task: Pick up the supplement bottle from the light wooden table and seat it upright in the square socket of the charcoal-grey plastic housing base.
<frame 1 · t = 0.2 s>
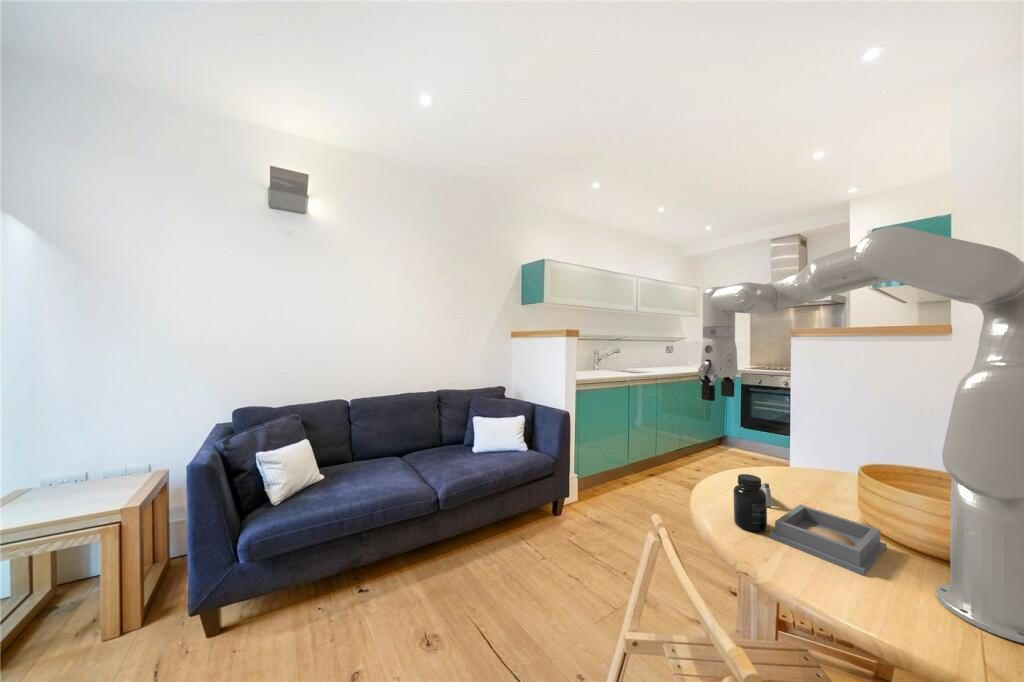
hand: (718, 398, 96), 30 cm above the table, tool pointing down, fingers open, 9 cm apart
housing: (826, 542, 81), on the table
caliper: (755, 493, 108), on the table
supplement bottle: (750, 526, 89), on the table
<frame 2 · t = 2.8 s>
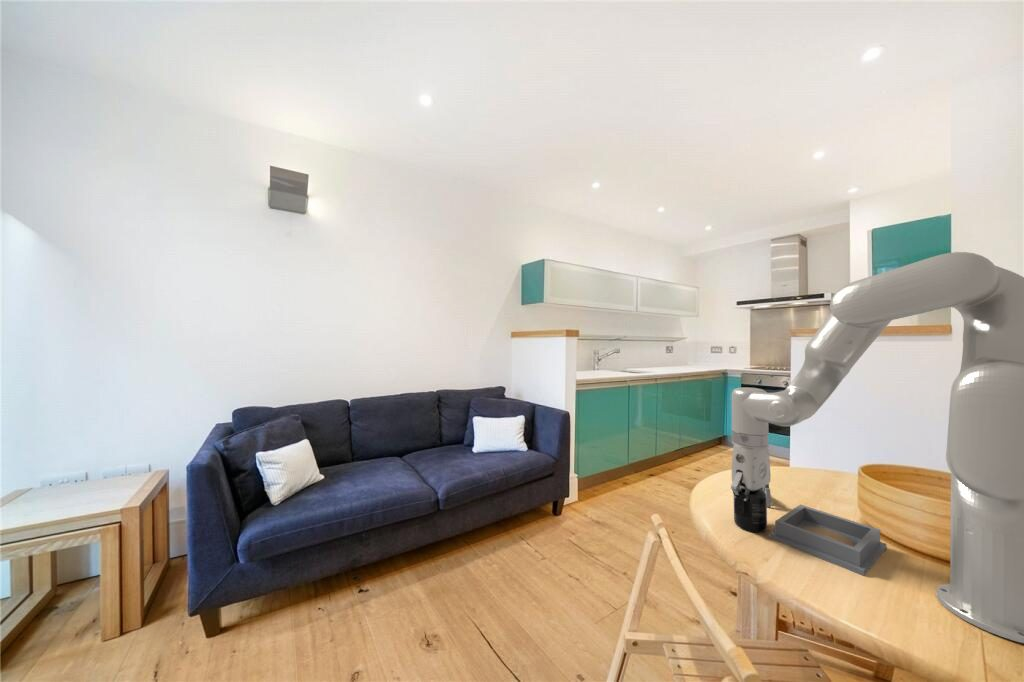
hand: (749, 510, 89), 4 cm above the table, tool pointing down, fingers closed on supplement bottle, 6 cm apart
supplement bottle: (750, 526, 89), on the table, touching gripper
everything else where it was.
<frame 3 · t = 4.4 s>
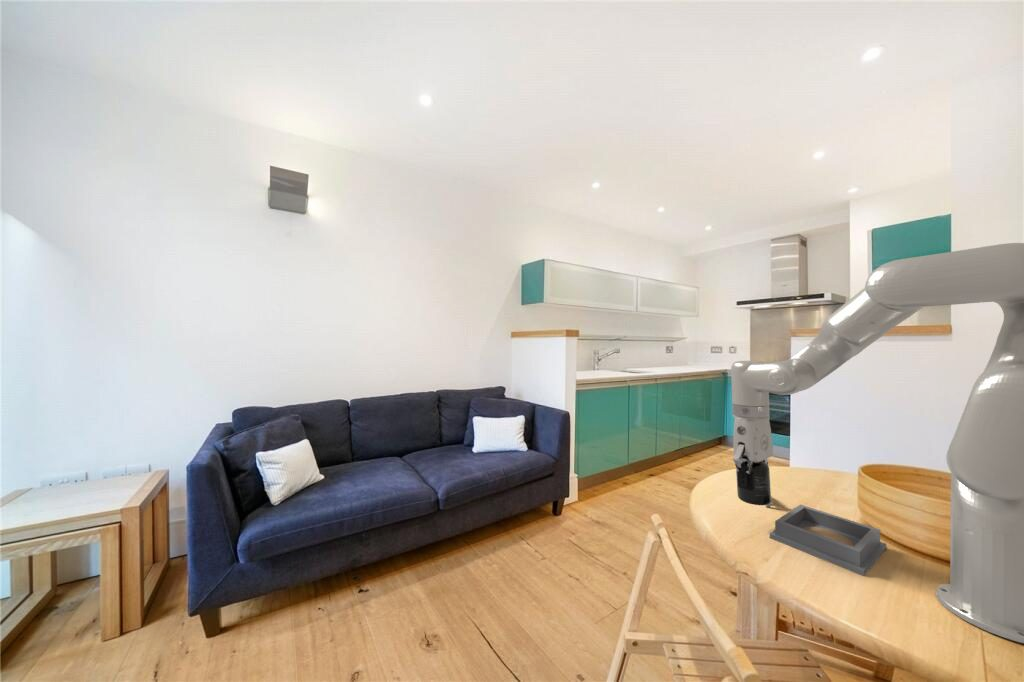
hand: (753, 484, 88), 10 cm above the table, tool pointing down, fingers closed on supplement bottle, 6 cm apart
supplement bottle: (753, 500, 88), point 6 cm above the table, touching gripper
everything else where it was.
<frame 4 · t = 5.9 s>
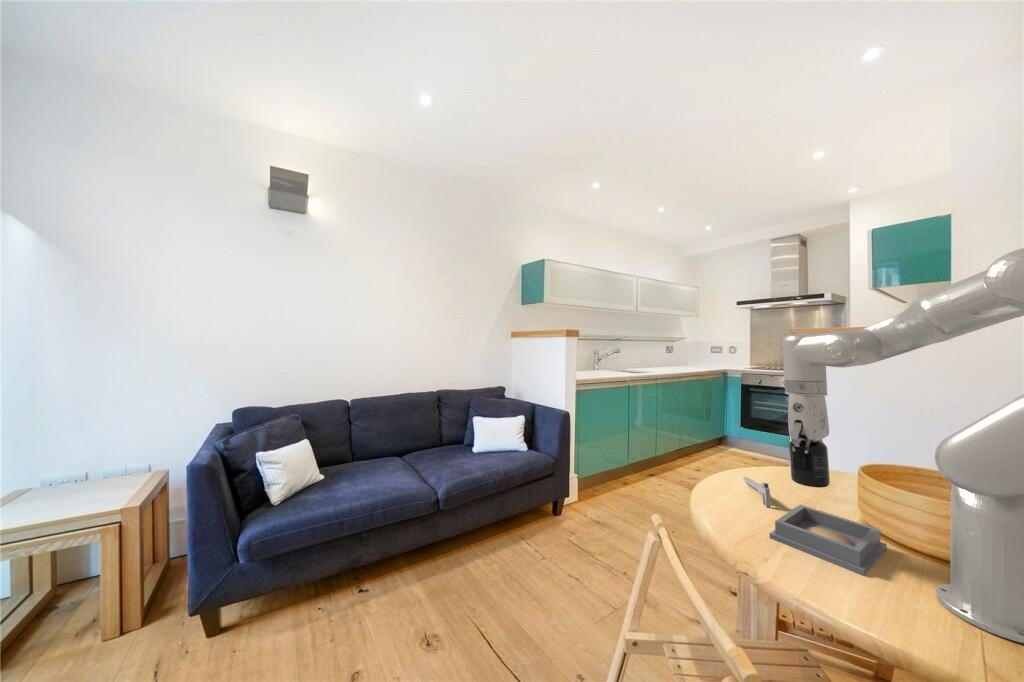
hand: (809, 466, 82), 17 cm above the table, tool pointing down, fingers closed on supplement bottle, 6 cm apart
supplement bottle: (809, 483, 82), point 13 cm above the table, touching gripper
everything else where it was.
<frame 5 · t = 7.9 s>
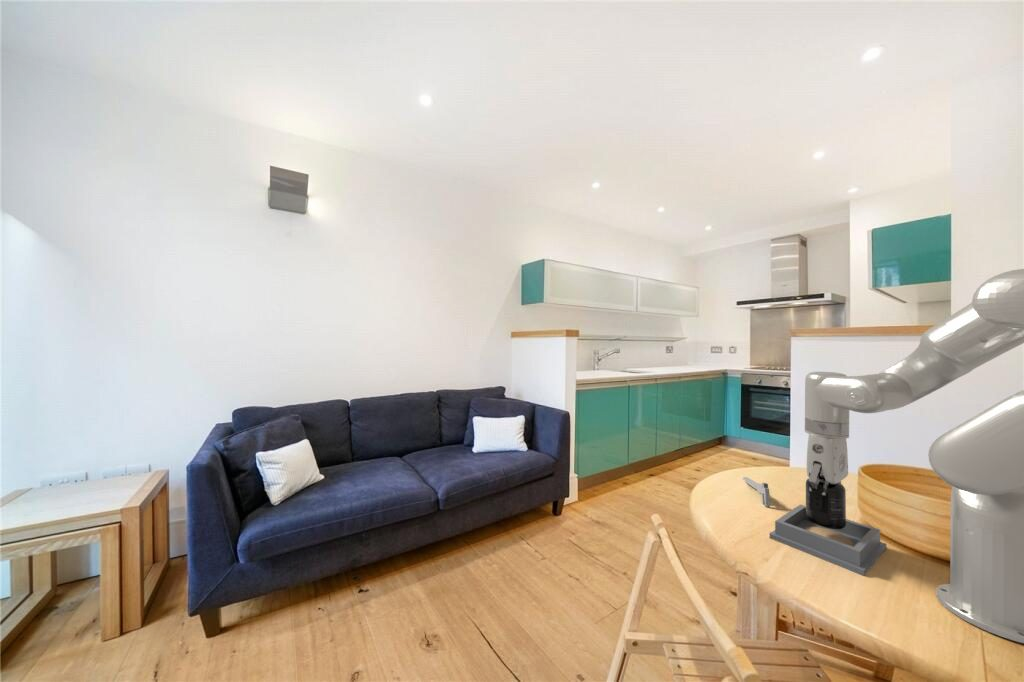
hand: (825, 505, 81), 8 cm above the table, tool pointing down, fingers closed on supplement bottle, 6 cm apart
supplement bottle: (824, 523, 81), point 4 cm above the table, touching gripper
everything else where it was.
when the fingers open (6 cm above the table, at t = 9.3 s): supplement bottle stays where it is, resting on housing.
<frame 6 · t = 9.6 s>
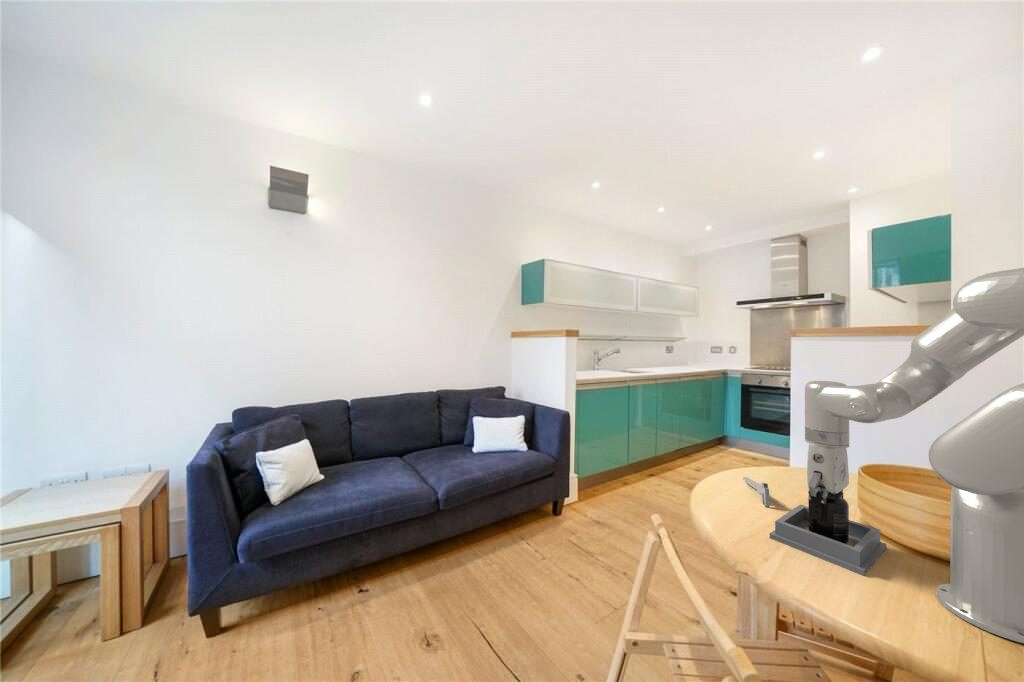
hand: (826, 513, 81), 7 cm above the table, tool pointing down, fingers open, 9 cm apart
supplement bottle: (827, 538, 81), point 1 cm above the table, touching housing
everything else where it was.
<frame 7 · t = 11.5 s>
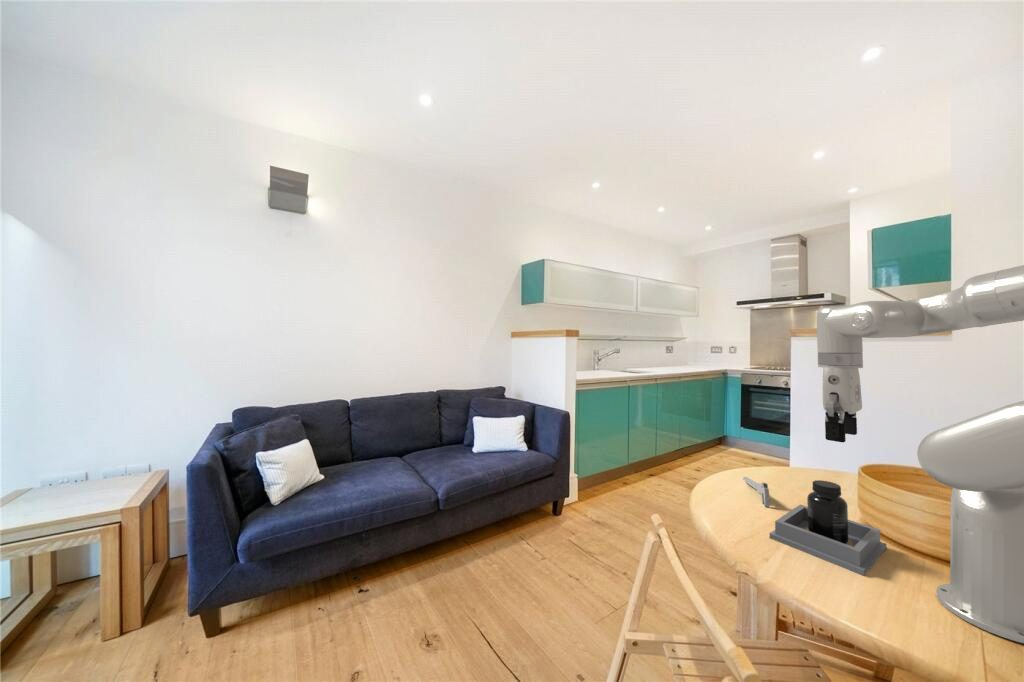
hand: (841, 437, 81), 24 cm above the table, tool pointing down, fingers open, 9 cm apart
nothing on the table moved.
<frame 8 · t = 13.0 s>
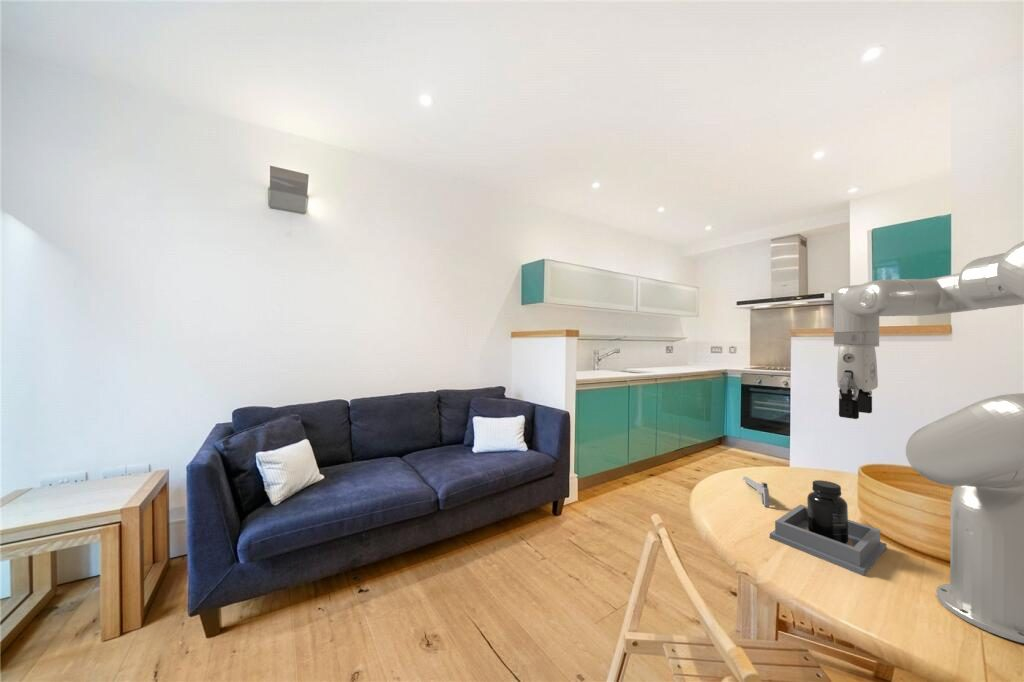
hand: (855, 414, 83), 28 cm above the table, tool pointing down, fingers open, 9 cm apart
nothing on the table moved.
at the end: supplement bottle 0.2 cm off-centre on the housing, point 1.1 cm above the housing's base; supplement bottle tilted 0°; the gripper is holding nothing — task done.
